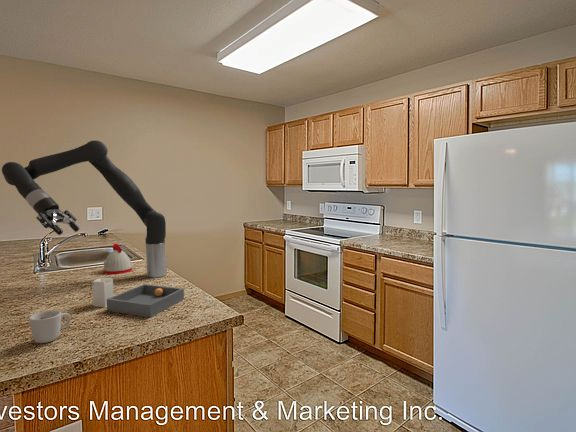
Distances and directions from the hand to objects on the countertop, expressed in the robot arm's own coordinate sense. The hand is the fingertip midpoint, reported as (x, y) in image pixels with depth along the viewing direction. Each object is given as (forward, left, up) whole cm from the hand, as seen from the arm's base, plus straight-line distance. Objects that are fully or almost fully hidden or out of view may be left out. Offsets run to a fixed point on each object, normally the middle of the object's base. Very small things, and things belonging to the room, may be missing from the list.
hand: (69, 231), depth 136 cm
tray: (-6, +32, -29) cm, 43 cm away
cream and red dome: (-43, -19, -29) cm, 55 cm away
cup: (+27, +24, -29) cm, 46 cm away
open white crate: (-1, +15, -29) cm, 32 cm away
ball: (-13, +31, -26) cm, 43 cm away
